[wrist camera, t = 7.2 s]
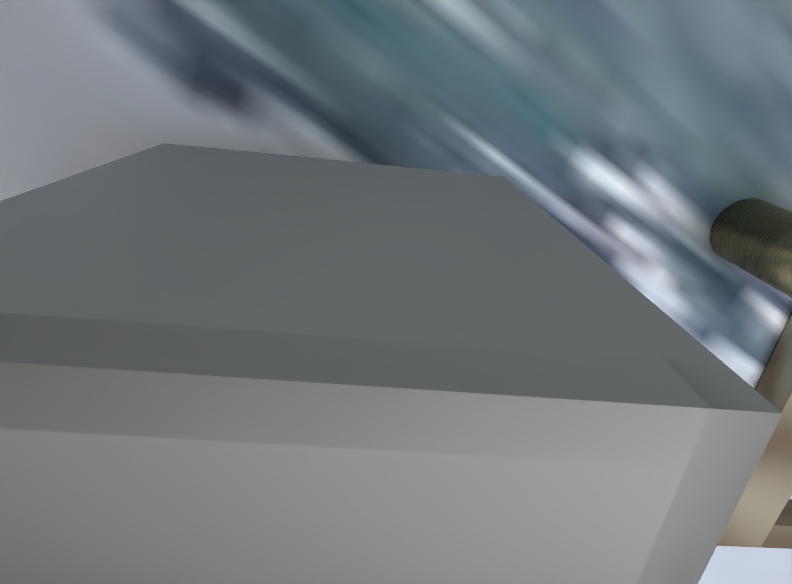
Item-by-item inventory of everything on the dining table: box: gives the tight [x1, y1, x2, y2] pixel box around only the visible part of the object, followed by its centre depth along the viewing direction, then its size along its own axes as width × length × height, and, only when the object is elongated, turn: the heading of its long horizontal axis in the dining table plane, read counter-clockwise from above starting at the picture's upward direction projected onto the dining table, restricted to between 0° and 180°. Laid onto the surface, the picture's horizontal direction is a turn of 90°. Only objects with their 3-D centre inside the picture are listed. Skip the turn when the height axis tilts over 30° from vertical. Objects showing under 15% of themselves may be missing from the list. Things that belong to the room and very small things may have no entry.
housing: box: [0, 144, 783, 584], centre depth 9 cm, size 10×7×8 cm
